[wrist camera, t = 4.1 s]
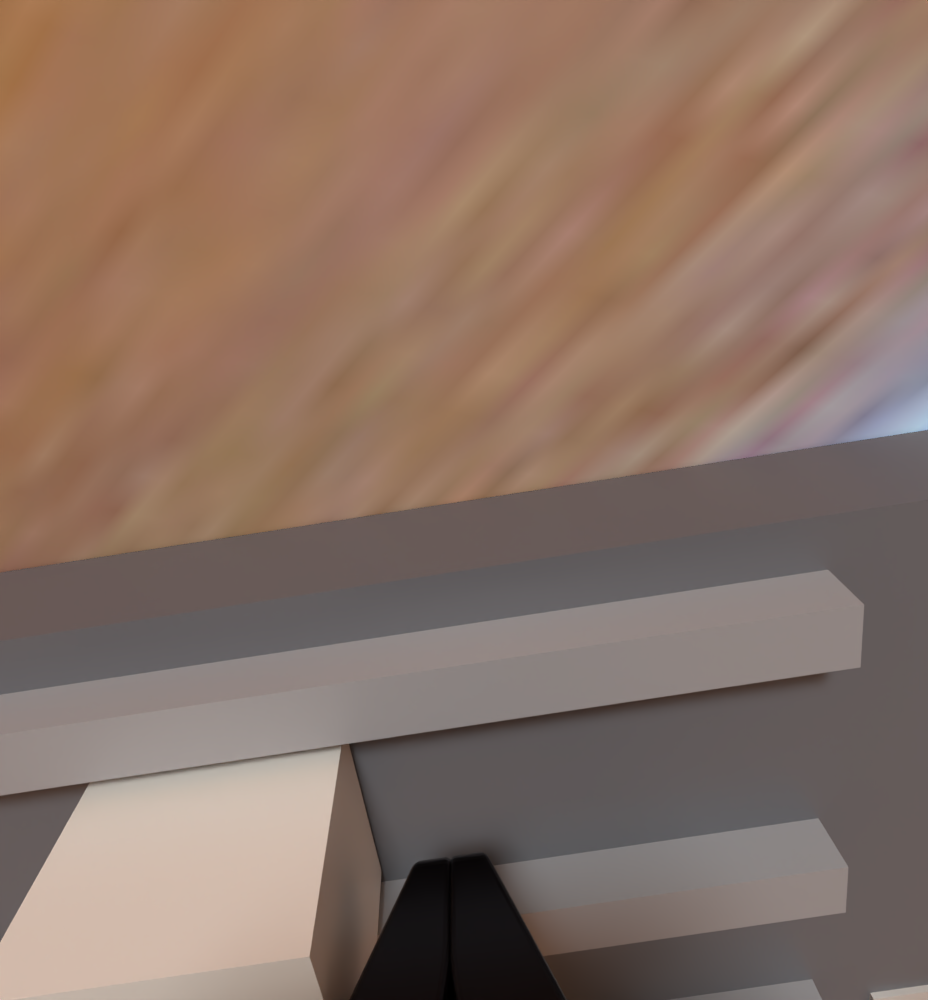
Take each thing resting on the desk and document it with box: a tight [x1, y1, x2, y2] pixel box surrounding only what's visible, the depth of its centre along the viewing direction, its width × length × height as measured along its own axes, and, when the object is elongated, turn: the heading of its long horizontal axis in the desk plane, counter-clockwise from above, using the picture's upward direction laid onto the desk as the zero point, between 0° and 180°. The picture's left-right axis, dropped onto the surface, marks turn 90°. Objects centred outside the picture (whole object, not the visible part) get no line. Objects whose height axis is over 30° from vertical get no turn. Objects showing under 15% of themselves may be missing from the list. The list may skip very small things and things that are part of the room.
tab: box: [0, 744, 382, 1000], centre depth 8 cm, size 2×3×3 cm
